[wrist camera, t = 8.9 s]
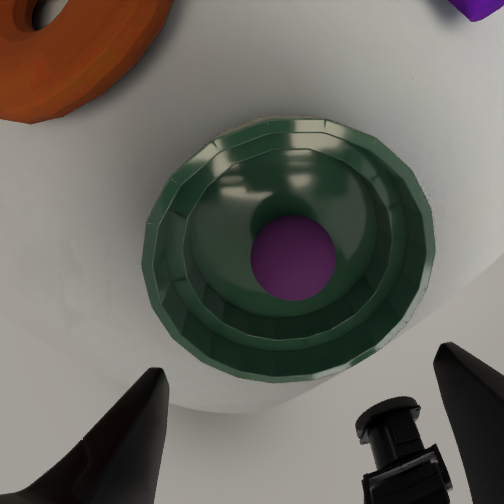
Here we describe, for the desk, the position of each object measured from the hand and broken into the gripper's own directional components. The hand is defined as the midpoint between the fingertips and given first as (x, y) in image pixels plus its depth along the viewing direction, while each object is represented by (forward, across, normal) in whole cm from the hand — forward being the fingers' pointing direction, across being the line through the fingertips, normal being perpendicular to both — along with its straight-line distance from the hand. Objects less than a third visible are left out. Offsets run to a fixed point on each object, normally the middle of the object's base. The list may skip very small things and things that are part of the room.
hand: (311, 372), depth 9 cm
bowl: (+11, 0, 0) cm, 11 cm away
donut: (+11, +12, -16) cm, 22 cm away
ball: (+8, 0, 0) cm, 8 cm away
